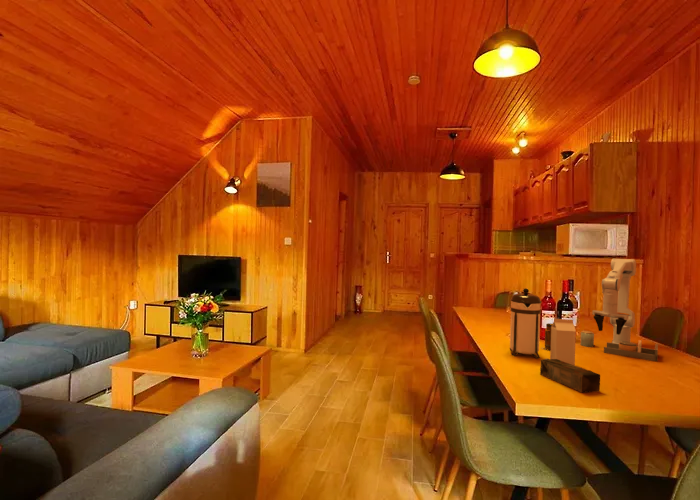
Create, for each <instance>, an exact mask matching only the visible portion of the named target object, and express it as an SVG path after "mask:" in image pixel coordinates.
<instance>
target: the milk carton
mask: <svg viewBox="0 0 700 500" xmlns="http://www.w3.org/2000/svg"><path fill="white" fill-rule="evenodd" d="M551 324H552V326H551V350H550V354H549V355H550V357H549V359H558V360H561V361H563V362H566V363H569V364H571V365H574V366H576V342H577V341H576V338H577V337H576V336H577V335H576V334H577V333H576V332H577V331H576V327H575V325H574V319H567V318H562V319H561V318H554V319H553V322H552V323H551Z"/></svg>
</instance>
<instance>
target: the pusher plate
mask: <svg viewBox="0 0 700 500" xmlns="http://www.w3.org/2000/svg"><path fill="white" fill-rule="evenodd" d="M642 342H643V341H642V340H640V339H638V342H637V347H638V352H640V353H641V347H642Z"/></svg>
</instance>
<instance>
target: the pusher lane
mask: <svg viewBox="0 0 700 500" xmlns="http://www.w3.org/2000/svg"><path fill="white" fill-rule="evenodd" d="M658 350H659V344H657V343H655V344H654V349H653V348H647V347H642V346H641V353H640V352H638V346H637V352H633V351H627V350H621V349H619V344H616V343H612V342H608V341H606V346H603V353H604V354H605V353H606V354H610V355H616V356H622V357H628V358H633V359H634V358H635V359H640V360H645V361H652V362H658V353H659V351H658Z"/></svg>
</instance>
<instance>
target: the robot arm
mask: <svg viewBox="0 0 700 500" xmlns="http://www.w3.org/2000/svg"><path fill="white" fill-rule="evenodd" d="M610 268H611V270H610V271H609V272H608V274H607V275H606V277H605V278H602V280H601V293H602V295H603V297H602V310H592V315H593V319H594V321H595V323H596V325H597V329H598V332H602V331H603V329H604V328H603V325H604V318H605V317H608V318H609V322H610V324H611V325H612V327H613V329H612V331H613V334H612V335H613V336H612V342H611V343H616V344H619V342H620V341H626V342H631V335H632V334H631V333H632V332H631V330H632V328H634V327H635V325H636V315H635V311H633V310H631V308H629V304H630V303H629V302H630V299H629V298H630V285H631V278H632V277H633V276H634V277H635V276H636V273H637V261H636V260H635V258H631V259H629V258H612V259H611V260H610Z"/></svg>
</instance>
